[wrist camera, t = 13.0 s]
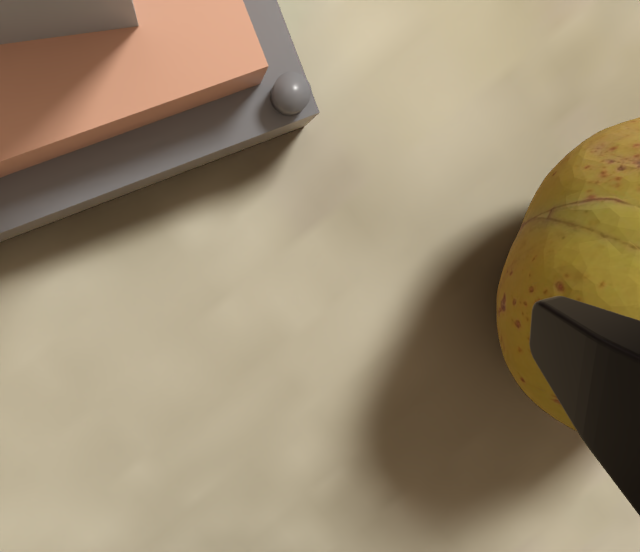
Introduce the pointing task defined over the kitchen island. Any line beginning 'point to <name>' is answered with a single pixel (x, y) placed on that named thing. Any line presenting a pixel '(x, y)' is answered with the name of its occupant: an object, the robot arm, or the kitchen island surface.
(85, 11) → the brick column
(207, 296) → the kitchen island surface
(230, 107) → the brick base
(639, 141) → the fruit
